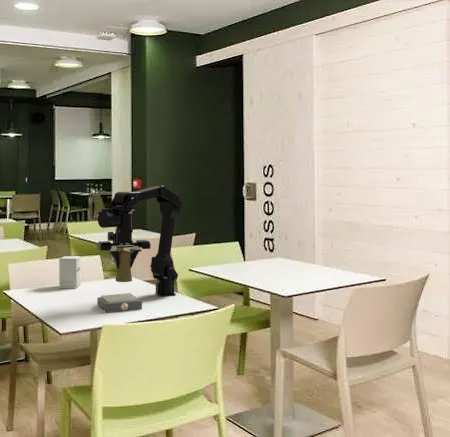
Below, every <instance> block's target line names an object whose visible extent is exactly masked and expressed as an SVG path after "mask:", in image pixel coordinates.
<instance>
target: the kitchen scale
mask: <svg viewBox="0 0 450 437" xmlns="http://www.w3.org/2000/svg"><path fill="white" fill-rule="evenodd" d="M97 307H98V308H100V309H101V310H102V311H104V313H117V312H128V311H136V310H142V309H143V300H141V299H139V298H138V297H137V296H135V295H134V294H132V293H131V292H130V293H117V294H116V293H114V294H105V295H103V294H102V295H100V296H99V297H97Z"/></svg>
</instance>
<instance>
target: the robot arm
mask: <svg viewBox="0 0 450 437" xmlns="http://www.w3.org/2000/svg"><path fill="white" fill-rule="evenodd" d="M154 198H155V201H156V202H157V203H158V204H159V211H160V214H161V216H162V217H161V218H162V219H161V227H160V235H159V241H158V249H157V254H156V255H155V256H152V257H151V259H150V260H151V262H150V266H149V268H150V272H151V273H152V276H153V279H156V282H155V294H156V295H158V296H160V297H165V296H166V297H168V296H176V293H175V281H176V280H178V278H179V274H178V272H177V271H176V270H175V269H174V260H173V258H172V255H171V252H172V245H173V244H172V243H173V237H174V229H175V222H176V218H177V217H178V216H179V214H180V213H181V208H182V205H183V204H182V203H183V202H182V199H181V198H180V197H179V196H178V195H176V194H175V193H174V192H172V191H171V190H169V189H168V188H167V187H166V186H165V185H154V186H150V187H146V188H143V189H139V190H135V191H117V192H115V193H114V196H113V199H112V200H111V202H110V204H109V205H108V207H107V208H101V211H100V212H99V214H98V217H97V224H98V225H99V227H100V228H101V229H107V228H115V231H108V232H107V240H103V241H98V242H97V244H96V249H97V250H98V251H101V252H102V251H103V252H104V251H107V252H108V253H109V254H111V257H112V259H113V261H114V265H115V268H116V270H117V269H118V268H119V256H118V252H119V250H117V249H121V248H122V249H123V248H129V252H130V253H131V259H130V267H131V269H132V268H133V265H134V262H135V261H136V258H137V257H138V255H139V252H142V250H149V249H151V246H152V245H151V242H150V241H149V240H146V239H137V240H136V241H135V242H134V241H133V233H134V230H133V214H137V211H136V210H135V209H134V208H133V207H136V206H138V204H139V203H141V202H143V201H147V200H151V199H154Z"/></svg>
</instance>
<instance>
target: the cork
mask: <svg viewBox="0 0 450 437" xmlns="http://www.w3.org/2000/svg"><path fill="white" fill-rule="evenodd" d="M118 256H119V268H118V269H117V268H116V276H115V282H118V283H130V282H133V277H132V275H133V274H132V270H131V269H132V268H131V267H130V259H131V253H130V250H129V251H128V250H118Z"/></svg>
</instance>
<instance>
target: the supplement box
mask: <svg viewBox="0 0 450 437" xmlns="http://www.w3.org/2000/svg"><path fill="white" fill-rule="evenodd" d="M58 266H59V267H58V268H59V269H58V271H59V272H58V273H59V277H58V280H59V283H58V284H59V289H74V288H76V289H77V288H79V287H80V286H81V256H80V255H79V256H75V255H73V256H71V255H70V256H69V255H67V256H62V257H60V258H59V261H58Z"/></svg>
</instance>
